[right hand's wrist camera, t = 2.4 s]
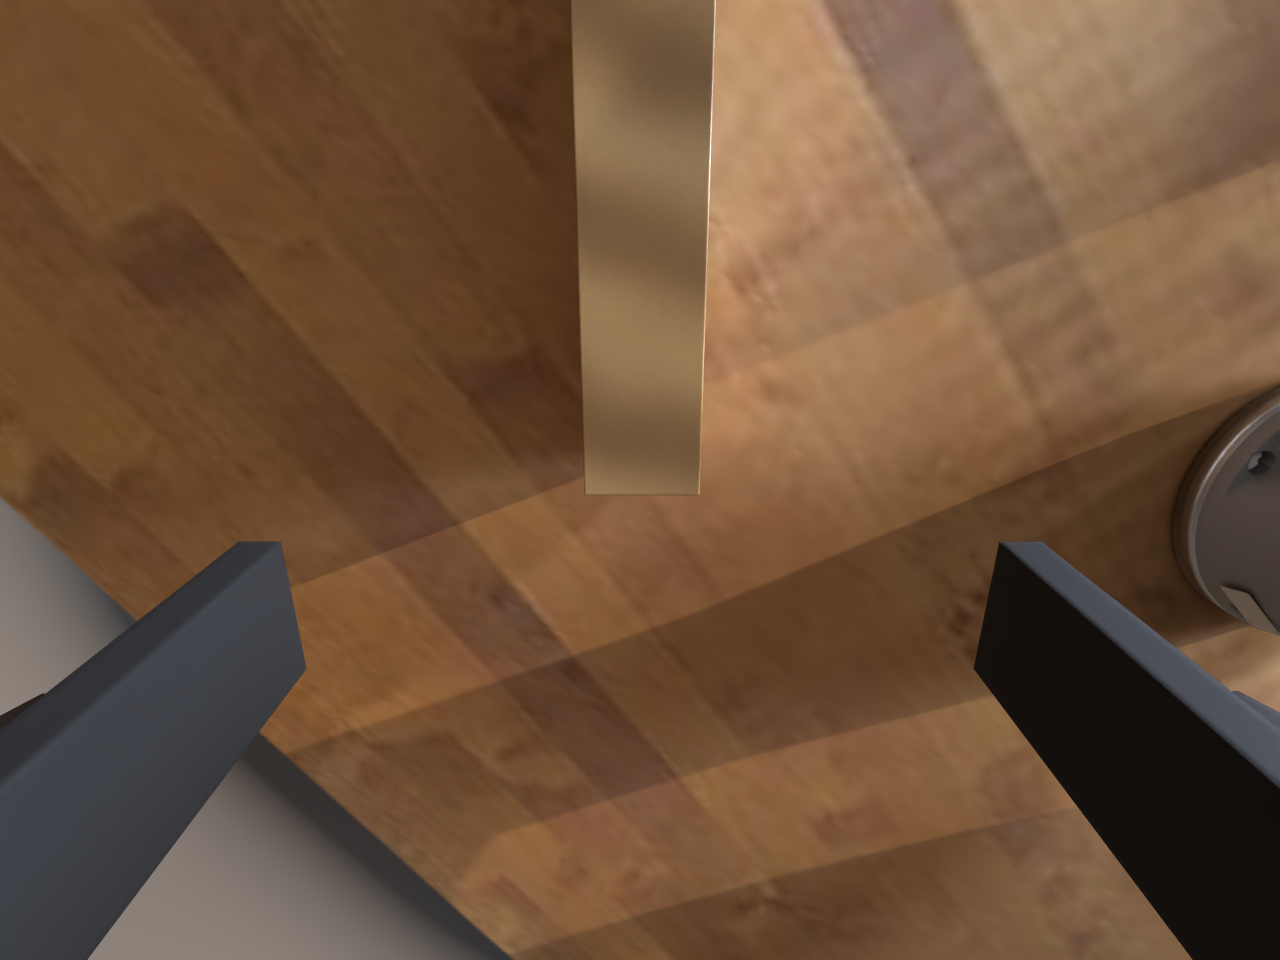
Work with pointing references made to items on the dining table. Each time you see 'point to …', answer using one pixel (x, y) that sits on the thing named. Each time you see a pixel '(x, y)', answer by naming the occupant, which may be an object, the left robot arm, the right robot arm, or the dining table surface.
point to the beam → (642, 237)
